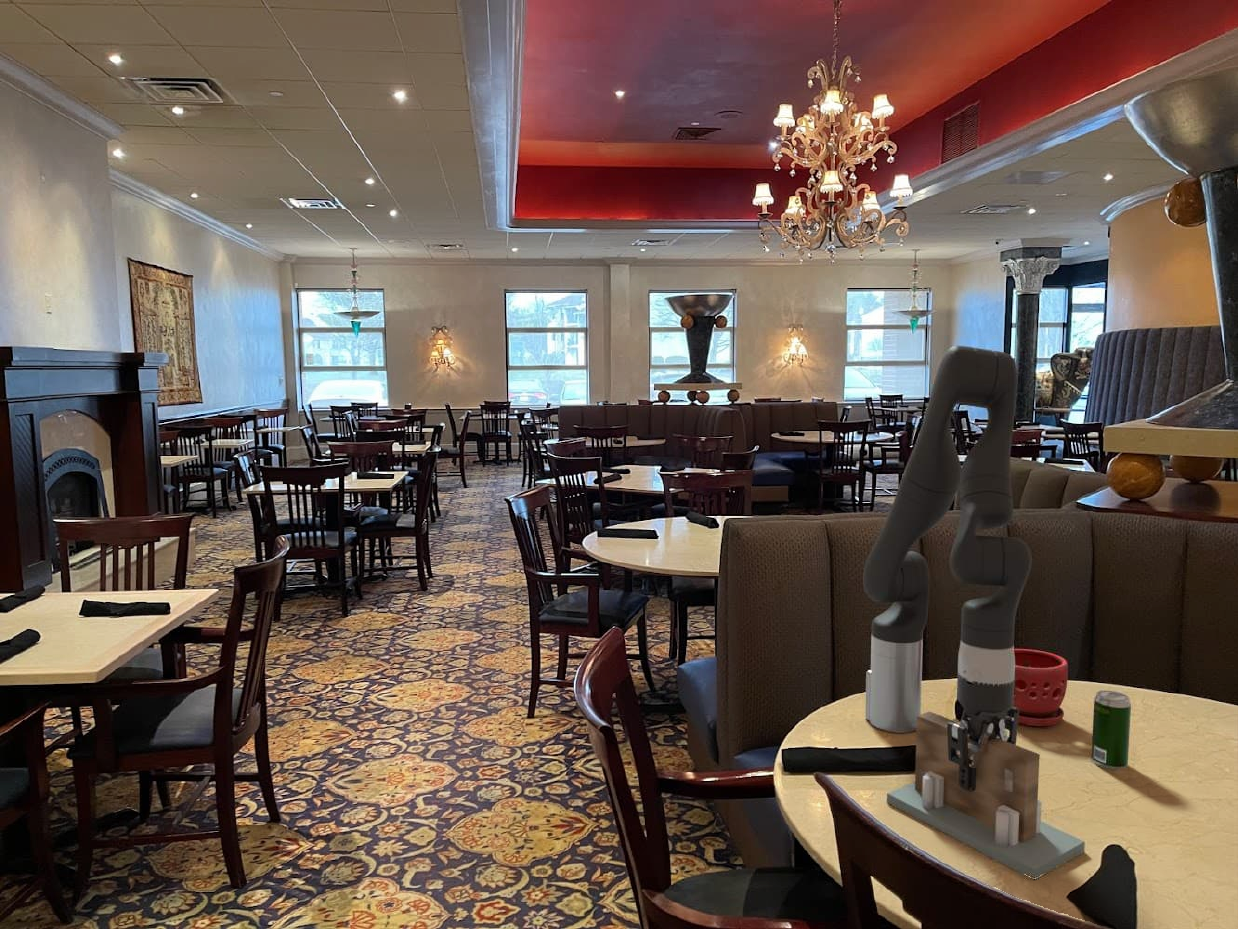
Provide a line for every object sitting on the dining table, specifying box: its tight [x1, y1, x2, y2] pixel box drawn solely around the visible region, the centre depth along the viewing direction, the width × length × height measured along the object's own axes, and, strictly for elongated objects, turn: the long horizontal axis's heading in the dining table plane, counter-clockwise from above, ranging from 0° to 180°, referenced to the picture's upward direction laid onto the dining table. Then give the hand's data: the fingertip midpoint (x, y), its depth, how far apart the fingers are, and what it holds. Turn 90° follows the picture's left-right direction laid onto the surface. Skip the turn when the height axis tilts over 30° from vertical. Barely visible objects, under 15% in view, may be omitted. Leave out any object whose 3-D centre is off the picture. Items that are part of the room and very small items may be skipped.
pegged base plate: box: [886, 771, 1086, 879], centre depth 121 cm, size 24×12×6 cm, turn 32°
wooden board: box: [914, 711, 1041, 843], centre depth 122 cm, size 18×3×12 cm, turn 32°
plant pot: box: [1013, 648, 1069, 727], centre depth 160 cm, size 13×13×12 cm
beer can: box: [1091, 690, 1132, 771], centre depth 140 cm, size 5×5×12 cm
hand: (981, 782), depth 121 cm, fingers open, 6 cm apart
